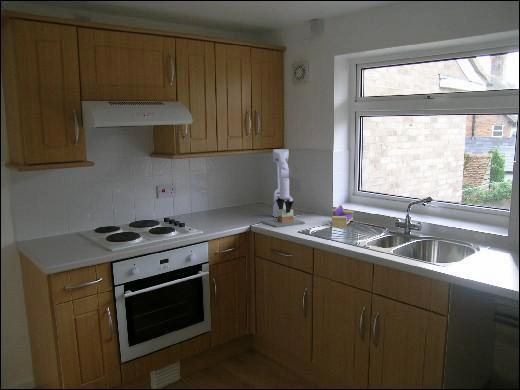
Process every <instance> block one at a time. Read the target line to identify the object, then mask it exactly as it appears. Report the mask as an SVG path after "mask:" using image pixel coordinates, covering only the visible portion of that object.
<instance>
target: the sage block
mask: <svg viewBox="0 0 520 390" xmlns="http://www.w3.org/2000/svg"><path fill="white" fill-rule="evenodd" d="M277 216H281V217H285V216H293V217H294V209H292V208H291V210H290V213H286V209H280V210H277Z"/></svg>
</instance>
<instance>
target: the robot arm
mask: <svg viewBox="0 0 520 390" xmlns="http://www.w3.org/2000/svg"><path fill="white" fill-rule="evenodd" d="M289 153H290V151H289V149H288V148H284V149H283V148H282V149H281V148H279V149H277V148H276V149H275V148H274V149H273V150H272V160H273V164H274V163H275V164H276V170H277V174H276V175H277V189H275V190H274V191H273V203H274V204H273V205H272V216H274V217H273V218H276V217H277V210H280V209H286V213H290V210H291V209H292V206H293V204H294V202H295V201H294V199H293V198H294V197H292V196H291V195H290V179H291V170H290V168H289V164H288V161H289V157H290V156H289V155H290V154H289Z"/></svg>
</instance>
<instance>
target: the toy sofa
mask: <svg viewBox="0 0 520 390" xmlns="http://www.w3.org/2000/svg"><path fill="white" fill-rule="evenodd" d="M331 211H332V213H331V215H332V216H331V225H332V228H342V229H343V228H344V229H347V227H348V224H349V223H350V221H353V222H354V210H344V209H343V206H342V205H341V204H339V205H338V206H337V207H336V208H335V209H332V210H331Z"/></svg>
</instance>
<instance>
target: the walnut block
mask: <svg viewBox="0 0 520 390" xmlns="http://www.w3.org/2000/svg"><path fill="white" fill-rule="evenodd" d="M276 219H277V221H278V222H282V223H284V222H291V221H293V219H294V215H293V216H285V217H281V216H277V218H276Z"/></svg>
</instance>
